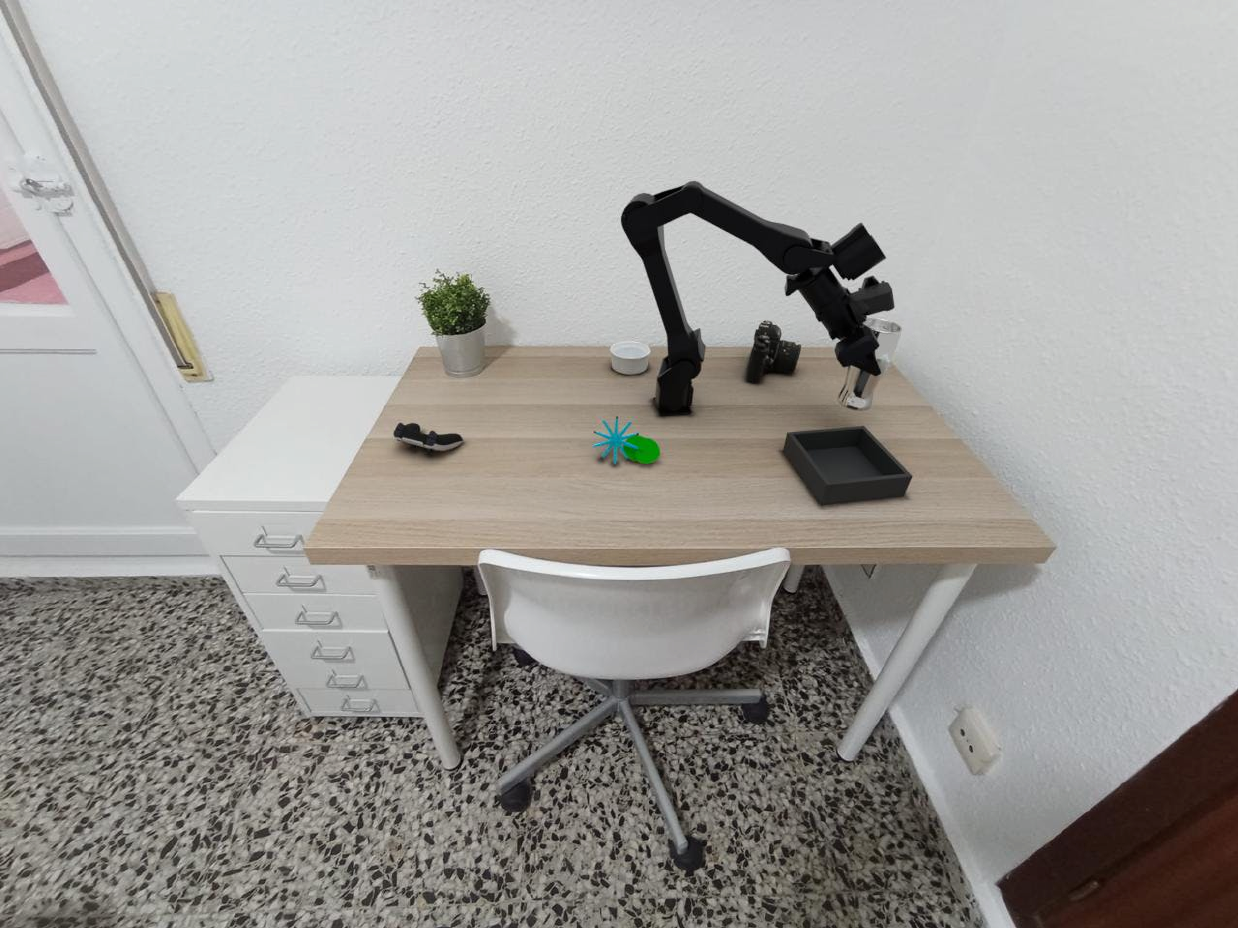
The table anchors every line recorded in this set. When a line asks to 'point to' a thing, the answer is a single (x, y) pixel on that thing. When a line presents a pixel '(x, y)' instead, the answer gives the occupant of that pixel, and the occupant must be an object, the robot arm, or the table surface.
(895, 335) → the metal tumbler
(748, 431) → the table surface
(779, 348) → the film camera
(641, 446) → the stick construction toy
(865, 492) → the bin
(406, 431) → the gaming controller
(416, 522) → the table surface
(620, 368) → the ramekin
